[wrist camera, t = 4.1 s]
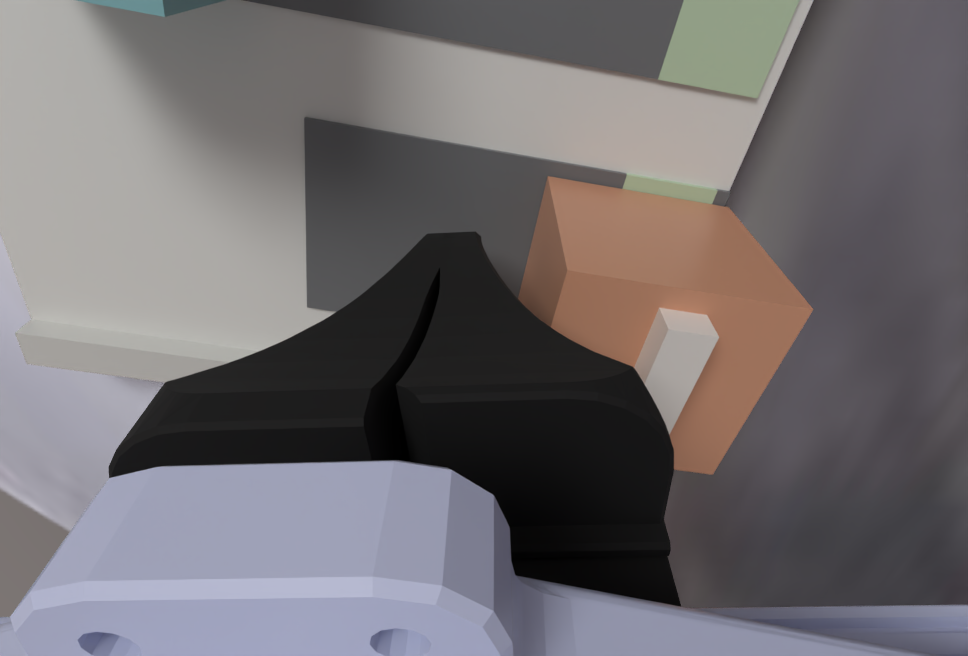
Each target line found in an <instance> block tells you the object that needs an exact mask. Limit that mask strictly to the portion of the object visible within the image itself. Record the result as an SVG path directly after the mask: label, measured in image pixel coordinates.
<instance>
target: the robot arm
mask: <svg viewBox="0 0 968 656" xmlns="http://www.w3.org/2000/svg"><path fill="white" fill-rule="evenodd" d="M673 471H674V448H673V446H672V442H671V439H670V435H669V432H668V430H667V427H666V424H665V422H664V420H663V418H662V416H661V413H660V411H659V409H658V408H657V406H656V404H655V402H654V400H653V398H652V396H651V395H650V393H649V391H648V389H647V388H646V386H645V384H644V383H643V381H642V379H641V378H640V376H639V374H638V373H637V371H636V370H635V368H634V367H632V366H630V365H627V364H625V363H622V362H620V361H617V360H614V359H612V358H609V357H607V356H604V355H601V354H599V353H596V352H594V351H592V350H589V349H587V348H586V347H584V346H582V345H580V344H578V343H576V342H574V341H572V340H570V339H568V338H567V337H565V336H563V335H562V334H560V333H558V332H557V331H555V330H554V329H552V328H551V327H550V326H548V325H547V324H545V323H544V322H542V321H541V320H540V319H538V318H537V317H536V316H535V315H534V314H533V313H532V312H531V311H529V310H528V309H527V308H526V307H525V306H524V305H523V304H522V303H521V302H520V301H519V300H518V298H517V297H516V296H515V295H514V294H513V293H512V292H511V290H510V289H509V288H508V287H507V285H506V284H505V283H504V281H503V280H502V279H501V277H500V276H499V274H498V273H497V271H496V270H495V268H494V267H493V265H492V263H491V262H490V260H489V258H488V256H487V254H486V252H485V250H484V248H483V245H482V241H481V236H480V235H479V234H478V233H477V232H476V231H475V232H452V233H429V234H426V235H425V236H424V237H423V238H422V239H421V240H420V241H419V242H418V243H417V244H416V245H415V246H414V247H413V248H412V249H411V250H410V251H409V252H408V253H407V254H406V255H405V256H404V257H403V258H402V259H401V260H400V261H399V262H398V263H397V264H396V265H395V266H394V267H393V268H392V269H391V270H390V271H389V272H388V273H386V274H385V275H384V276H383V277H382V278H381V279H379V280H378V281H377V282H376V283H375V284H373V285H372V286H371V287H370V288H369V289H367V290H366V291H365V292H364V293H363V294H361V295H360V296H359V297H357V298H356V299H355V300H353V301H352V302H350V303H349V304H348V305H346V306H345V307H343V308H342V309H340V310H338V311H337V312H335V313H334V314H332V315H331V316H329V317H327V318H326V319H324V320H322V321H321V322H319V323H317V324H315V325H313V326H311V327H309V328H307V329H305V330H303V331H302V332H300V333H298V334H296V335H294V336H292V337H290V338H288V339H286V340H284V341H282V342H280V343H277V344H275V345H273V346H270V347H268V348H266V349H263V350H261V351H258V352H256V353H253V354H251V355H248V356H246V357H243V358H241V359H238V360H235V361H232V362H229V363H227V364H224V365H220V366H217V367H214V368H211V369H207V370H204V371H201V372H198V373H194V374H191V375H188V376H185V377H181V378H178V379H174V380H171V381H167V382H166V383H165V384H164V385H163V386H162V388H161V389H160V390H159V392H158V393H157V394H156V396H155V397H154V399H153V400H152V401H151V403H150V404H149V405H148V407H147V408H146V410H145V411H144V412H143V414H142V415H141V416H140V418H139V419H138V421H137V422H136V423H135V425H134V426H133V428H132V429H131V430H130V432H129V433H128V434H127V436H126V437H125V439H124V440H123V441H122V443H121V444H120V445H119V447H118V448H117V450H116V452H115V454H114V456H113V458H112V461H111V463H110V465H109V479H108V481H107V482H106V483H105V485H104V486H103V487H102V488H101V490H100V491H99V492H98V494H97V495H96V496H95V497H94V499H93V500H92V501H91V503H90V504H89V505H88V507H87V508H86V510H85V511H84V512H83V514H82V515H81V517H80V518H79V520H78V521H77V522H76V524H75V525H74V527H73V528H72V530H71V531H70V532H69V534H68V535H67V537H66V538H65V539H64V541H63V542H62V544H61V545H60V547H59V548H58V549H57V551H56V552H55V554H54V555H53V557H52V558H51V559H50V561H49V562H48V564H47V565H46V567H45V568H44V569H43V571H42V572H41V574H40V575H39V576H38V578H37V579H36V581H35V582H34V584H33V585H32V586H31V588H30V589H29V591H28V592H27V594H26V595H25V597H24V598H23V599H22V601H21V602H20V604H19V605H18V606H17V608H16V609H15V611H14V612H13V613H12V615H11V616H10V617H0V656H968V605H898V606H820V607H743V608H685V607H681V604H680V601H679V597H678V593H677V590H676V586H675V582H674V579H673V575H672V572H671V568H670V564H669V561H668V557H667V556H669V554H670V550H671V549H670V540H669V537H668V533H667V530H666V526H665V523H664V515H665V510H666V505H667V500H668V495H669V491H670V486H671V481H672V476H673Z"/></svg>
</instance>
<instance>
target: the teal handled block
mask: <svg viewBox="0 0 968 656" xmlns="http://www.w3.org/2000/svg"><path fill="white" fill-rule="evenodd" d="M76 1H82V2H87V3H92V4H98V5H103V6H108V7H114V8H119V9H125V10H130V11H135V12H141V13H146V14H151V15H157V16H162V17H167V16H170V15H174V14H178V13H181V12H185V11H189V10H192V9H196V8H200V7H203V6H207V5H211V4H214V3H218V2H222V1H225V0H76Z"/></svg>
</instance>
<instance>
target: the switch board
mask: <svg viewBox="0 0 968 656" xmlns="http://www.w3.org/2000/svg"><path fill="white" fill-rule="evenodd" d="M812 2H813V0H225V1H222V2H218V3H214V4H211V5H207V6H203V7H200V8H196V9H192V10H189V11H185V12H181V13H178V14H174V15H170V16H167V17H162V16H157V15H151V14H146V13H141V12H135V11H130V10H125V9H119V8H114V7H108V6H103V5H98V4H92V3H87V2H82V1H76V0H0V233H1V236H2V239H3V242H4V245H5V247H6V250H7V253H8V256H9V259H10V261H11V264H12V267H13V270H14V273H15V275H16V278H17V281H18V284H19V286H20V289H21V292H22V295H23V298H24V300H25V303H26V306H27V309H28V312H29V314H30V317H31V320H30V321H28V322H27V323H26V324H25V325H24V326H23V327H21V328H20V329H19V330H18V331H17V332H15V334H16V337H17V340H18V342H19V345H20V347H21V350H22V353H23V355H24V358H25V360H26V363H27V364H31V365H38V366H46V367H53V368H61V369H68V370H75V371H83V372H90V373H98V374H105V375H113V376H120V377H128V378H135V379H143V380H150V381H158V382H165V383H166V382H167V381H171V380H174V379H178V378H181V377H185V376H188V375H191V374H194V373H198V372H201V371H204V370H207V369H211V368H214V367H217V366H220V365H224V364H227V363H229V362H232V361H235V360H238V359H241V358H243V357H246V356H248V355H251V354H253V353H256V352H258V351H261V350H263V349H266V348H268V347H270V346H273V345H275V344H277V343H280V342H282V341H284V340H286V339H288V338H290V337H292V336H294V335H296V334H298V333H300V332H302V331H303V330H305V329H307V328H309V327H311V326H313V325H315V324H317V323H319V322H321V321H322V320H324V319H326V318H327V317H329V316H331V315H332V314H334V313H335V312H337V311H338V310H340V309H342V308H343V307H345V306H346V305H348V304H349V303H350V302H352V301H353V300H355V299H356V298H357V297H359V296H360V295H361V294H363V293H364V292H365V291H366V290H367V289H369V288H370V287H371V286H372V285H373V284H375V283H376V282H377V281H378V280H379V279H381V278H382V277H383V276H384V275H385V274H386V273H388V272H389V271H390V270H391V269H392V268H393V267H394V266H395V265H396V264H397V263H398V262H399V261H400V260H401V259H402V258H403V257H404V256H405V255H406V254H407V253H408V252H409V251H410V250H411V249H412V248H413V247H414V246H415V245H416V244H417V243H418V242H419V241H420V240H421V239H422V238H423V237H424V236H425V235H426V234H429V233H452V232H475V231H476V232H477V233H478V234H479V235H480V236H481V241H482V245H483V248H484V250H485V252H486V254H487V256H488V258H489V260H490V262H491V263H492V265H493V267H494V268H495V270H496V271H497V273H498V274H499V276H500V277H501V279H502V280H503V281H504V283H505V284H506V285H507V287H508V288H509V289H510V290H511V292H512V293H513V294H514V295H515V296H516V297H517V298H518V297H519V292H520V288H521V284H522V280H523V276H524V272H525V268H526V264H527V259H528V255H529V251H530V247H531V243H532V239H533V235H534V231H535V226H536V222H537V218H538V214H539V210H540V206H541V202H542V198H543V193H544V189H545V185H546V181H547V177H548V176H550V177H556V178H562V179H568V180H573V181H579V182H585V183H591V184H597V185H602V186H608V187H614V188H620V189H626V190H631V191H637V192H643V193H649V194H655V195H660V196H666V197H672V198H678V199H684V200H689V201H695V202H701V203H707V204H713V205H718V206H724V207H725V205H726V202H727V200H728V198H729V196H730V191H729V190H730V188H731V186H732V184H733V181H734V179H735V177H736V175H737V172H738V170H739V168H740V165H741V163H742V161H743V159H744V156H745V154H746V152H747V150H748V147H749V145H750V143H751V141H752V138H753V136H754V134H755V132H756V129H757V127H758V125H759V122H760V120H761V118H762V116H763V113H764V111H765V109H766V107H767V104H768V102H769V100H770V98H771V95H772V93H773V91H774V88H775V86H776V84H777V82H778V79H779V77H780V75H781V73H782V70H783V68H784V66H785V64H786V61H787V59H788V57H789V54H790V52H791V50H792V48H793V45H794V43H795V41H796V39H797V36H798V34H799V32H800V30H801V27H802V25H803V23H804V20H805V18H806V16H807V14H808V11H809V9H810V7H811V5H812Z"/></svg>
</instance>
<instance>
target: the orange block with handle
mask: <svg viewBox="0 0 968 656" xmlns="http://www.w3.org/2000/svg"><path fill="white" fill-rule="evenodd" d="M518 300H519V301H520V302H521V303H522V304H523V305H524V306H525V307H526V308H527V309H528V310H529V311H531V312H532V313H533V314H534V315H535V316H536V317H537V318H538V319H540V320H541V321H542V322H544V323H545V324H547V325H548V326H550V327H551V328H552V329H554V330H555V331H557V332H558V333H560V334H562V335H563V336H565V337H567V338H568V339H570V340H572V341H574V342H576V343H578V344H580V345H582V346H584V347H586V348H587V349H589V350H592V351H594V352H596V353H599V354H601V355H604V356H607V357H609V358H612V359H614V360H617V361H620V362H622V363H625V364H627V365H630V366H632V367H634V368H635V370H636V371H637V373H638V374H639V376H640V378H641V379H642V381H643V383H644V384H645V386H646V388H647V389H648V391H649V393H650V395H651V396H652V398H653V400H654V402H655V404H656V406H657V408H658V409H659V411H660V413H661V416H662V418H663V420H664V422H665V424H666V427H667V430H668V432H669V435H670V439H671V442H672V446H673V448H674V470H680V471H688V472H696V473H703V474H711V475H713V473H714V472H715V470H716V468H717V467H718V465H719V463H720V462H721V460H722V459H723V457H724V455H725V454H726V452H727V450H728V449H729V447H730V445H731V444H732V442H733V441H734V439H735V437H736V436H737V434H738V432H739V431H740V429H741V427H742V426H743V424H744V422H745V421H746V419H747V418H748V416H749V414H750V413H751V411H752V409H753V408H754V406H755V404H756V403H757V401H758V400H759V398H760V396H761V395H762V393H763V391H764V390H765V388H766V386H767V385H768V383H769V381H770V380H771V378H772V377H773V375H774V373H775V372H776V370H777V368H778V367H779V365H780V363H781V362H782V360H783V358H784V357H785V355H786V354H787V352H788V350H789V349H790V347H791V345H792V344H793V342H794V340H795V339H796V337H797V336H798V334H799V332H800V331H801V329H802V327H803V326H804V324H805V322H806V321H807V319H808V317H809V316H810V314H811V313H812V311H813V308H812V307H811V306H810V305H809V303H808V302H807V301H806V300H805V299H804V297H803V296H802V295H801V294H800V293H799V291H798V290H797V289H796V288H795V287H794V285H793V284H792V283H791V282H790V281H789V279H788V278H787V277H786V276H785V275H784V273H783V272H782V271H781V270H780V269H779V267H778V266H777V265H776V264H775V263H774V261H773V260H772V259H771V258H770V257H769V255H768V254H767V253H766V252H765V251H764V249H763V248H762V247H761V246H760V244H759V243H758V242H757V241H756V240H755V238H754V237H753V236H752V235H751V234H750V232H749V231H748V230H747V229H746V228H745V226H744V225H743V224H742V223H741V222H740V220H739V219H738V218H737V217H736V216H735V214H734V213H733V212H732V211H731V210H730V208H729V207H724V206H718V205H713V204H707V203H701V202H695V201H689V200H684V199H678V198H672V197H666V196H660V195H655V194H649V193H643V192H637V191H631V190H626V189H620V188H614V187H608V186H602V185H597V184H591V183H585V182H579V181H573V180H568V179H562V178H556V177H550V176H548V177H547V181H546V185H545V189H544V193H543V198H542V202H541V206H540V210H539V214H538V218H537V222H536V226H535V231H534V235H533V239H532V243H531V247H530V251H529V255H528V259H527V264H526V268H525V272H524V276H523V280H522V284H521V288H520V292H519V297H518Z"/></svg>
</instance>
